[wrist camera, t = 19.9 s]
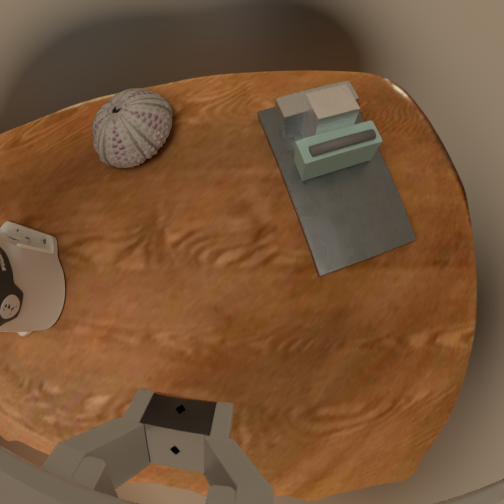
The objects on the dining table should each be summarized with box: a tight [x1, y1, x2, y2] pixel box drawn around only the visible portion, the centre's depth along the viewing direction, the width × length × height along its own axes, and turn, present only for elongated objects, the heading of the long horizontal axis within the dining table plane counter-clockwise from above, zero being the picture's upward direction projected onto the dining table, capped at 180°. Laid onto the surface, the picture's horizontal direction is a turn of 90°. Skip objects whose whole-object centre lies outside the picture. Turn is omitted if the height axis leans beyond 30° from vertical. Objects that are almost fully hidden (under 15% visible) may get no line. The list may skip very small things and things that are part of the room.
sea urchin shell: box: [92, 88, 173, 168], centre depth 41 cm, size 13×14×8 cm
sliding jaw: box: [294, 120, 383, 181], centre depth 36 cm, size 3×10×7 cm, turn 108°
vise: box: [257, 81, 416, 276], centre depth 37 cm, size 24×14×8 cm, turn 18°
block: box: [301, 84, 360, 139], centre depth 35 cm, size 4×5×10 cm
